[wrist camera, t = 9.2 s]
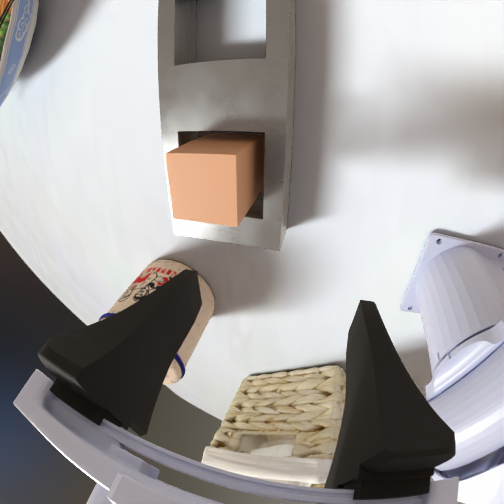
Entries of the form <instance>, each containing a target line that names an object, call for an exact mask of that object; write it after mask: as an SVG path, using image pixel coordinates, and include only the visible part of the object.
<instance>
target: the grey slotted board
mask: <svg viewBox="0 0 504 504" xmlns="http://www.w3.org/2000/svg"><path fill="white" fill-rule="evenodd" d="M196 8H197V0H159V6H158V80H159V101H160V116H161V129H162V141H163V151H164V161H165V170H166V179H167V187H168V194H169V202H170V209H171V216H172V222H173V228H174V235H180V236H187V237H194V238H200V239H207V240H213V241H220V242H226V243H233V244H239V245H246V246H252V247H258V248H265V249H271V250H278V251H280V248H281V245H282V242H283V239H284V236H285V233H286V230H287V220H288V206H289V192H290V176H291V159H292V140H293V118H294V90H295V37H296V11H295V0H266V58H255V59H230V60H216V61H206V62H197V63H196ZM198 131H246V132H265V159H264V200H259V199H256V200H255V201H254V203H253V204H252V206H251V207H250V209H249V210H248V212H247V213H246V215H245V217H244V218H243V220H242V221H241V223H240V224H239V226H238V227H232V226H225V225H217V224H210V223H202V222H194V221H187V220H179V219H173V213H172V206H171V199H170V191H169V184H168V175H167V167H166V157H165V153H167V152H169V151H171V150H173V149H175V148H177V147H179V146H181V145H184V144H186V143H188V142H190V141H192V140H194V139H197V138H199V133H198Z"/></svg>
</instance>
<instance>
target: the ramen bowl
mask: <svg viewBox="0 0 504 504" xmlns="http://www.w3.org/2000/svg"><path fill="white" fill-rule="evenodd" d="M38 6H39V0H0V106H1V105H2V103H3V102H4V100H5V99H6V97H7V96H8V94H9V92H10V91H11V89H12V87H13V85H14V84H15V82H16V80H17V79H18V77H19V74H20V72H21V70H22V67H23V65H24V62H25V59H26V57H27V54H28V52H29V49H30V45H31V41H32V37H33V34H34V30H35V27H36V21H37V13H38Z"/></svg>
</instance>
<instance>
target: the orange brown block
mask: <svg viewBox="0 0 504 504" xmlns="http://www.w3.org/2000/svg"><path fill="white" fill-rule="evenodd" d="M165 157H166V167H167V175H168V184H169V191H170V199H171V206H172V213H173V219H179V220H187V221H194V222H202V223H210V224H217V225H225V226H232V227H238V226H239V224H240V223H241V221H242V220H243V218H244V217H245V215H246V213H247V212H248V210H249V209H250V207H251V206H252V204H253V203H254V201H255V200H256V198H257V197H258V195H259V194H260V192H261V191H262V189H263V176H264V135H263V134H243V133H208V134H206V135H203V136H201V137H199V138H197V139H194V140H192V141H190V142H188V143H186V144H184V145H181V146H179V147H177V148H175V149H173V150H171V151H169V152H167V153H165Z"/></svg>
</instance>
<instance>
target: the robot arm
mask: <svg viewBox="0 0 504 504" xmlns="http://www.w3.org/2000/svg"><path fill="white" fill-rule="evenodd" d="M438 239H441V240H440V241H439V242H436V241H437V240H438ZM499 254H500V255H499ZM201 306H202V299H201V292H200V286H199V280H198V273H197V271H193V270H188V269H185V270H183V271H182V272H180V273H179V274H177V275H176V276H174V277H173V278H171V279H170V280H169V281H167V282H166V283H164V284H163V285H162V286H160V287H159V288H157V289H156V290H154V291H153V292H151V293H150V294H148V295H147V296H145V297H144V298H142V299H140V300H139V301H137V302H136V303H134V304H133V305H131V306H129V307H127V308H126V309H124V310H122V311H120V312H118V313H116V314H114V315H112V316H110V317H108V318H105V319H103V320H101V321H98V322H96V323H94V324H91V325H88V326H86V327H83V328H80V329H76V330H74V331H69V332H66V333H61V334H57V335H53V336H51V338H50V339H49V340H48V341H47V343H46V344H45V345H44V347H43V348H42V349H41V350H40V352H39V353H38V356H39V359H40V360H41V361H42V362H43V364H44V365H45V366H46V367H47V369H48V370H49V371H50V372H51V373H52V374H53V375H54V376H55V378H56V381H55V382H52V380H50V379H49V378H48V377H47V376H45V375H44V374H43V373H41V372H40V371H39V370H38V369H36V370H35V372H34V373H33V375H32V376H31V377H30V379H29V380H28V382H27V383H26V384H25V386H24V387H23V389H22V390H21V392H20V393H19V395H18V396H17V398H16V399H15V401H14V402H13V403H14V405H15V406H16V407H17V408H18V409H19V410H20V411H21V412H22V414H23V415H24V416H25V417H26V418H27V419H28V420H29V421H30V422H31V423H32V424H33V425H34V426H35V427H36V428H37V429H38V430H39V431H40V433H42V435H43V436H44V437H45V438H47V440H48V441H49V442H50V443H51V444H52V445H53V446H55V447H56V448H57V449H58V450H59V451H60V452H61V453H62V454H63V455H64V456H65V457H67V458H68V459H69V460H70V461H71V462H72V463H73V464H75V465H76V466H77V467H78V468H79V469H81V470H82V471H83V472H84V473H86V474H87V475H88V476H89V477H91V478H92V479H93V480H95V481H96V482H97V484H96V486H95V488H94V490H93V492H92V494H91V496H90V498H89V500H88V502H87V503H86V504H223V503H219V502H216V501H213V500H210V499H207V498H204V497H200V496H197V495H195V494H192V493H189V492H186V491H183V490H181V489H178V488H176V487H174V486H171V485H169V484H166V483H164V482H162V481H159V480H157V476H158V474H159V472H160V471H159V469H157V468H155V467H153V466H151V465H150V464H148V463H146V462H145V461H143V460H142V459H140V458H138V457H136V456H134V455H132V454H130V453H128V452H127V451H126V448H125V447H127V448H129V449H131V450H133V451H135V452H137V453H139V454H141V455H143V456H145V457H147V458H149V459H151V460H153V461H156V462H158V463H160V464H163V465H165V466H167V467H169V468H172V469H175V470H177V471H179V472H182V473H185V474H187V475H190V476H193V477H195V478H198V479H201V480H204V481H207V482H211V483H213V484H217V485H220V486H224V487H227V488H231V489H234V490H238V491H243V492H247V493H251V494H255V495H260V496H265V497H271V498H277V499H282V500H289V501H297V502H305V503H316V504H457V501H458V502H462V503H465V504H504V249H501V248H497V247H494V246H490V245H486V244H482V243H478V242H474V241H470V240H465V239H461V238H457V237H453V236H448V235H444V234H439V233H430V234H429V235H428V237H427V240H426V243H425V246H424V248H423V251H422V254H421V257H420V259H419V262H418V264H417V267H416V269H415V272H414V274H413V277H412V279H411V281H410V284H409V286H408V288H407V291H406V293H405V295H404V297H403V300H402V302H401V304H400V309H401V310H402V311H406V312H414V313H421V316H422V321H423V326H424V330H425V335H426V341H427V346H428V352H429V358H430V364H431V372H432V380H431V382H430V383H429V384H427V385H426V386H425V388H426V399H425V397H424V396H423V395H422V393H421V392H420V391H419V389H418V388H417V386H416V385H415V383H414V382H413V380H412V379H411V377H410V375H409V374H408V372H407V370H406V368H405V367H404V365H403V363H402V361H401V359H400V357H399V355H398V353H397V351H396V349H395V347H394V345H393V343H392V341H391V339H390V337H389V335H388V332H387V330H386V328H385V326H384V323H383V321H382V319H381V316H380V314H379V311H378V309H377V307H376V304H375V303H374V302H371V301H365V300H360V303H359V305H358V308H357V311H356V314H355V316H354V319H353V322H352V324H351V327H350V329H349V333H348V342H347V351H346V393H345V405H344V411H343V417H342V423H341V428H340V432H339V437H338V441H337V445H336V449H335V453H334V457H333V461H332V464H331V467H330V471H329V474H328V477H327V480H326V483H325V486H324V488H315V487H306V486H298V485H290V484H284V483H278V482H272V481H267V480H262V479H258V478H253V477H249V476H245V475H240V474H237V473H233V472H229V471H226V470H222V469H219V468H215V467H212V466H209V465H206V464H203V463H200V462H197V461H194V460H191V459H188V458H186V457H183V456H181V455H178V454H175V453H173V452H171V451H168V450H166V449H163V448H161V447H158V446H156V445H154V444H152V443H150V442H148V441H146V440H144V439H141V438H139V437H137V436H135V435H133V434H131V433H129V432H127V431H126V430H129V431H131V432H133V433H135V434H137V435H139V436H142V435H145V434H147V431H148V427H149V423H150V420H151V416H152V413H153V410H154V407H155V403H156V401H157V397H158V395H159V392H160V390H161V387H162V384H163V382H164V379H165V377H166V375H167V372H168V370H169V367H170V365H171V363H172V361H173V359H174V358H175V356H176V354H177V352H178V351H179V349H180V347H181V345H182V344H183V342H184V340H185V339H186V337H187V335H188V333H189V332H190V330H191V328H192V326H193V324H194V323H195V321H196V318H197V316H198V313H199V311H200V308H201ZM409 306H411V307H409ZM120 427H122V428H124V429H125V430H124V429H122V428H120ZM430 476H431V477H432V478H433V479H434V481H433V482H430Z"/></svg>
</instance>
